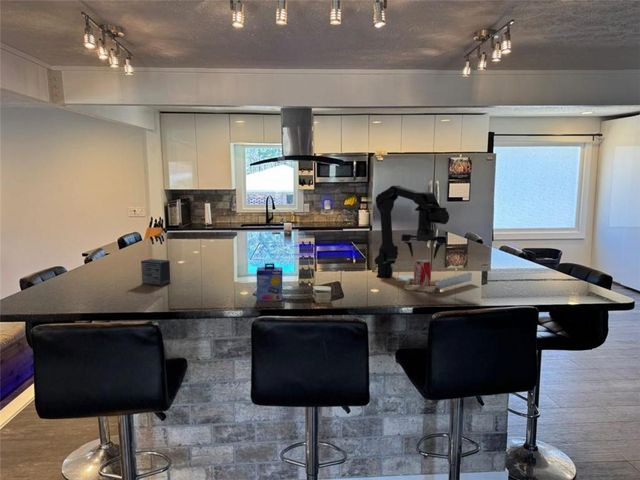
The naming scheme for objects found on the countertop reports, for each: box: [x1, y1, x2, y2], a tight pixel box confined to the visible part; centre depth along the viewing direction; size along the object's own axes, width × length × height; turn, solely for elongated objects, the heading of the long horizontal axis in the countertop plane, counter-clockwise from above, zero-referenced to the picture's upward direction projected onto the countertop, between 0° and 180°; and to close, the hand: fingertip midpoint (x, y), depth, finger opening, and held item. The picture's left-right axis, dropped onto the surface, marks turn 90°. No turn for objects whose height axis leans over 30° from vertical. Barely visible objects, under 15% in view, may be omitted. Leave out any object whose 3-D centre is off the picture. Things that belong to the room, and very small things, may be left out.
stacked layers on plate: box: [312, 285, 332, 304], centre depth 164 cm, size 10×9×6 cm
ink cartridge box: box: [256, 262, 283, 302], centre depth 165 cm, size 10×6×14 cm, turn 95°
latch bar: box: [434, 272, 473, 290], centre depth 185 cm, size 2×26×4 cm, turn 129°
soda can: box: [413, 258, 432, 287], centre depth 185 cm, size 7×7×12 cm
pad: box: [395, 274, 414, 282], centre depth 201 cm, size 11×11×1 cm
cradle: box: [403, 278, 441, 294], centre depth 186 cm, size 15×14×2 cm
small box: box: [140, 258, 171, 287], centre depth 186 cm, size 11×6×10 cm, turn 71°
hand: (423, 257), depth 184 cm, fingers open, 9 cm apart
